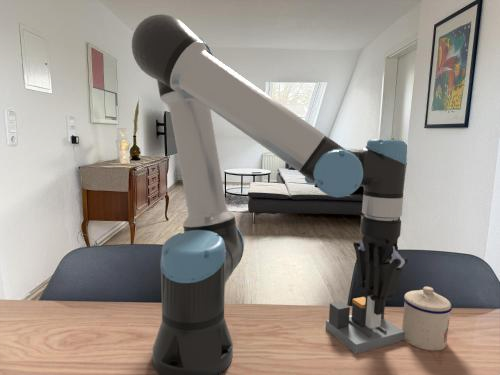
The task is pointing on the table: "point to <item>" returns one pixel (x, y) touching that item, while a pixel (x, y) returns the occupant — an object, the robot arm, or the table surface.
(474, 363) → the table surface
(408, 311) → the teacup with lid
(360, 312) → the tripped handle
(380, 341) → the panel
